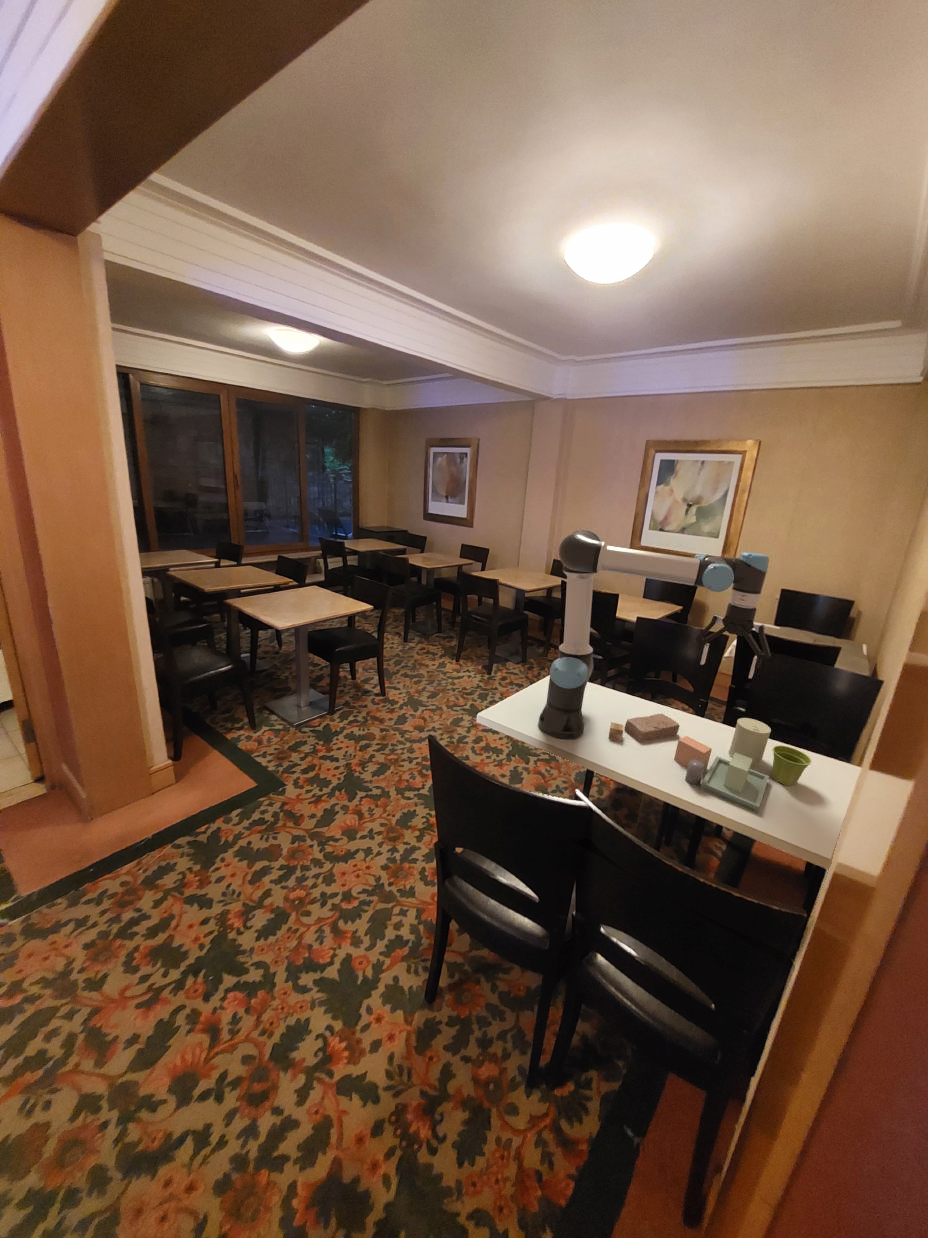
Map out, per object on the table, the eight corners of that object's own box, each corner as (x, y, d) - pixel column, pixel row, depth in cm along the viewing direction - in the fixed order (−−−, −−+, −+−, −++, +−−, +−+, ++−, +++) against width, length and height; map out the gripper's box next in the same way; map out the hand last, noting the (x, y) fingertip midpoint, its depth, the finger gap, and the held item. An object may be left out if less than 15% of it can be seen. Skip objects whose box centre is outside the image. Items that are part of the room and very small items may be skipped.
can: (731, 761, 144) (740, 727, 141) (726, 746, 153) (735, 713, 149) (764, 769, 141) (775, 734, 138) (757, 753, 150) (767, 720, 146)
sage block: (723, 785, 130) (729, 764, 128) (729, 773, 136) (734, 752, 134) (741, 792, 128) (747, 771, 126) (746, 779, 134) (752, 759, 132)
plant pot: (788, 770, 141) (796, 746, 139) (810, 791, 132) (819, 765, 130) (758, 769, 141) (765, 744, 138) (778, 789, 132) (787, 763, 129)
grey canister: (683, 781, 133) (687, 763, 131) (687, 775, 136) (691, 758, 134) (698, 788, 130) (702, 770, 128) (701, 781, 133) (706, 763, 131)
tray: (700, 788, 130) (701, 782, 129) (715, 761, 143) (716, 756, 143) (757, 813, 122) (759, 807, 121) (767, 782, 135) (769, 776, 134)
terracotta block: (698, 773, 137) (704, 753, 135) (673, 759, 143) (678, 739, 141) (706, 768, 140) (711, 748, 138) (681, 755, 146) (686, 735, 144)
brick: (639, 743, 151) (641, 730, 150) (622, 729, 159) (625, 717, 157) (678, 736, 157) (681, 724, 156) (660, 724, 165) (663, 712, 163)
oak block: (608, 738, 152) (610, 728, 151) (609, 732, 156) (611, 722, 155) (621, 741, 151) (623, 730, 150) (621, 735, 155) (623, 725, 154)
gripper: (694, 597, 143) (680, 661, 149) (790, 617, 128) (770, 686, 134) (701, 594, 148) (687, 655, 155) (793, 612, 134) (773, 679, 140)
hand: (725, 670), depth 145 cm, fingers open, 13 cm apart
